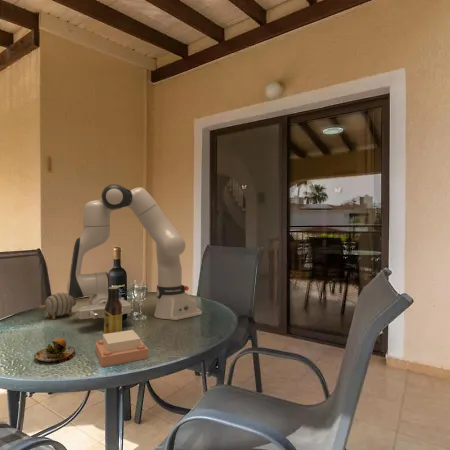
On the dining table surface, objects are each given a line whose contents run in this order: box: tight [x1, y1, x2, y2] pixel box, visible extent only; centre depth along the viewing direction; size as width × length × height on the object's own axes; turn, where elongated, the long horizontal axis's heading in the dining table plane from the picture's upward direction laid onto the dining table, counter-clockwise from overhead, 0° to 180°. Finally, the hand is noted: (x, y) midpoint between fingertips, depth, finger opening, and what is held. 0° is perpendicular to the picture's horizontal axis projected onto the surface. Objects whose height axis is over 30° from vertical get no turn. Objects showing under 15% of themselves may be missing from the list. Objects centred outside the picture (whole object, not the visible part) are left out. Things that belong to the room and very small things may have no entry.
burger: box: [33, 332, 76, 364], centre depth 106 cm, size 12×12×8 cm
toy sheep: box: [38, 292, 77, 320], centre depth 150 cm, size 11×17×11 cm, turn 149°
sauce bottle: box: [103, 285, 123, 334], centre depth 120 cm, size 6×6×20 cm
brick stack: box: [94, 329, 149, 368], centre depth 108 cm, size 14×14×6 cm
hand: (108, 314), depth 128 cm, fingers open, 8 cm apart
